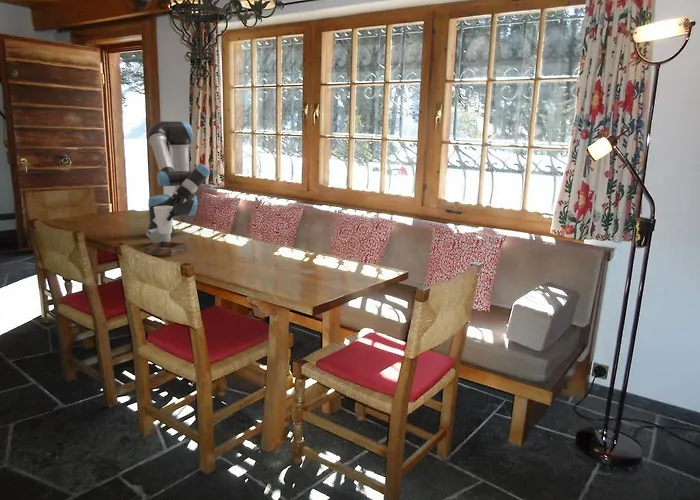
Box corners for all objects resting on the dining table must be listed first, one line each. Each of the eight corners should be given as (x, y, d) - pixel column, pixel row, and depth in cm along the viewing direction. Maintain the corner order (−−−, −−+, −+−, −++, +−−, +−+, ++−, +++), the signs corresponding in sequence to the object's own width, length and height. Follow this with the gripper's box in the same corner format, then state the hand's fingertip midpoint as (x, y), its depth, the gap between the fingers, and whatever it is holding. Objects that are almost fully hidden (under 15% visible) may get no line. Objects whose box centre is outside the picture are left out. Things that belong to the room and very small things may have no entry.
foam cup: (163, 235, 265) (162, 209, 262) (151, 233, 270) (149, 207, 267) (179, 232, 273) (177, 206, 270) (166, 230, 278) (165, 205, 275)
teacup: (175, 243, 293) (174, 228, 291) (161, 247, 284) (160, 232, 282) (156, 240, 299) (155, 226, 297) (141, 244, 289) (140, 229, 287)
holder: (145, 254, 269) (144, 247, 268) (161, 247, 282) (161, 241, 282) (171, 256, 265) (170, 249, 265) (186, 249, 279) (186, 243, 278)
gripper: (201, 196, 269) (173, 231, 262) (182, 192, 285) (155, 225, 278) (191, 186, 264) (162, 222, 258) (172, 183, 280) (144, 216, 274)
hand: (158, 223), depth 268 cm, fingers closed on foam cup, 9 cm apart
